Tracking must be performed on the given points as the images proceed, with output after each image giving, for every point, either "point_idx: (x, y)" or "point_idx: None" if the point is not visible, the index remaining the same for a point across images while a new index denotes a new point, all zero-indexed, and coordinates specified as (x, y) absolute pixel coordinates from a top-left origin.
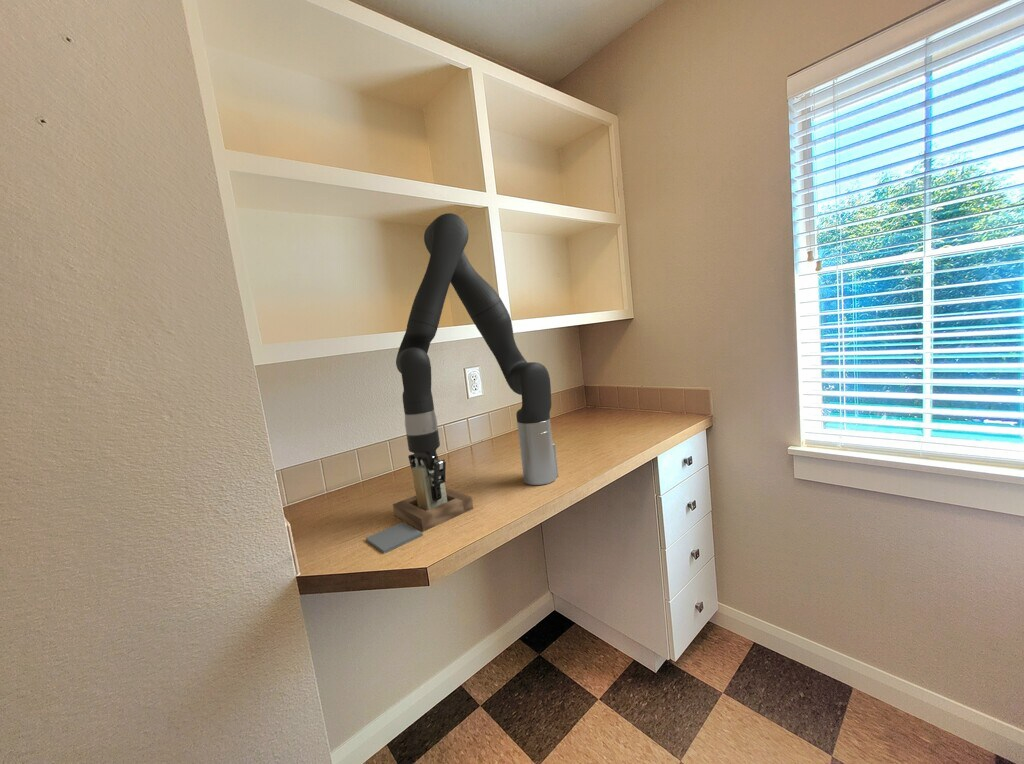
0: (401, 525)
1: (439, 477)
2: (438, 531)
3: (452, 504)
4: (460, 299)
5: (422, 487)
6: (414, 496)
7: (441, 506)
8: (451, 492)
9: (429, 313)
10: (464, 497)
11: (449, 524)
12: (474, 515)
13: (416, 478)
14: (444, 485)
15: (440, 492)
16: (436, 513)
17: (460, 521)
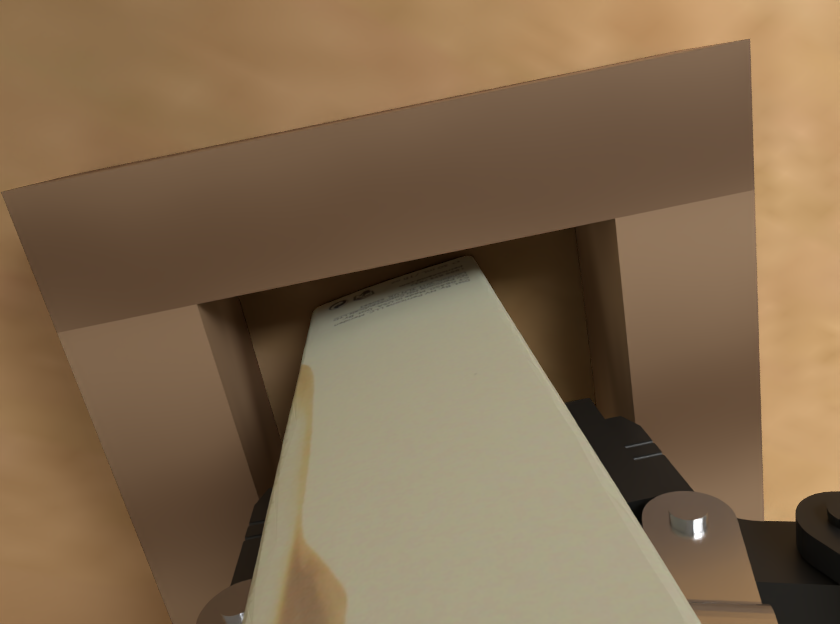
0: None
1: (750, 577)
2: (803, 470)
3: (742, 318)
4: None
5: None
6: (161, 551)
7: (682, 422)
8: (386, 180)
9: None
10: (685, 123)
11: (775, 367)
12: (821, 120)
13: None
14: (536, 359)
15: (661, 456)
16: (758, 496)
17: (809, 275)
